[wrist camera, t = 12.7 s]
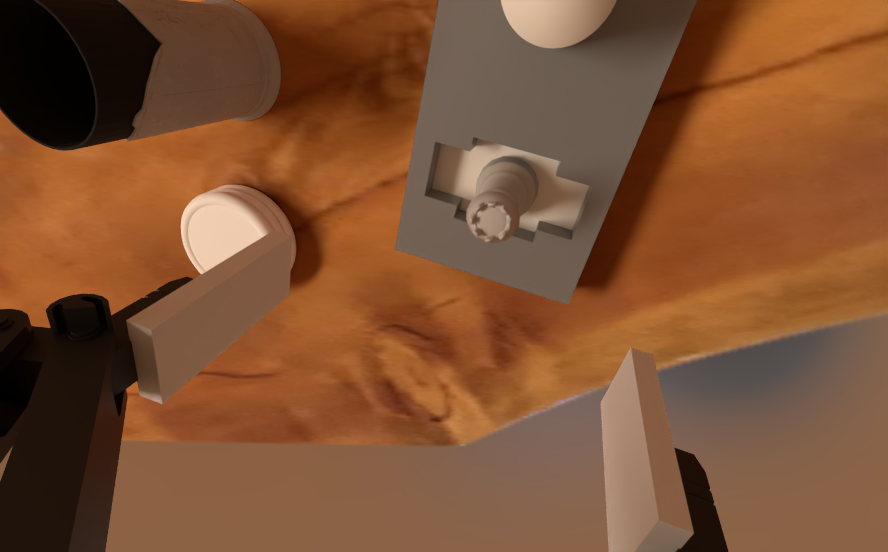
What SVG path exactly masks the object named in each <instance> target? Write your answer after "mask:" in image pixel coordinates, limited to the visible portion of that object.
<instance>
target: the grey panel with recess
mask: <svg viewBox="0 0 888 552" xmlns="http://www.w3.org/2000/svg"><path fill="white" fill-rule="evenodd" d="M696 2H697V0H439V1H438V7H437V12H436V18H435V24H434V29H433V35H432V41H431V46H430V52H429V58H428V64H427V69H426V75H425V81H424V86H423V92H422V98H421V103H420V109H419V115H418V120H417V126H416V132H415V138H414V143H413V149H412V155H411V160H410V166H409V172H408V177H407V183H406V189H405V195H404V200H403V206H402V212H401V217H400V223H399V229H398V234H397V240H396V246H395V250H398V251H401V252H405V253H408V254H411V255H414V256H417V257H420V258H423V259H427V260H430V261H433V262H436V263H439V264H442V265H445V266H448V267H452V268H455V269H458V270H461V271H464V272H467V273H470V274H473V275H477V276H480V277H483V278H486V279H489V280H492V281H495V282H498V283H502V284H505V285H508V286H511V287H514V288H517V289H520V290H523V291H527V292H530V293H533V294H536V295H539V296H542V297H545V298H549V299H552V300H555V301H558V302H561V303H564V304H567V305H568V304H569V301H570V299H571V297H572V294H573V292H574V290H575V287H576V285H577V282H578V280H579V278H580V275H581V273H582V271H583V268H584V266H585V264H586V261H587V259H588V257H589V254H590V252H591V249H592V247H593V245H594V242H595V240H596V238H597V235H598V233H599V231H600V228H601V226H602V224H603V221H604V219H605V216H606V214H607V212H608V209H609V207H610V205H611V202H612V200H613V198H614V195H615V193H616V191H617V188H618V186H619V183H620V181H621V179H622V176H623V174H624V172H625V169H626V167H627V165H628V162H629V160H630V158H631V155H632V153H633V150H634V148H635V146H636V143H637V141H638V139H639V136H640V134H641V132H642V129H643V127H644V125H645V122H646V120H647V117H648V115H649V113H650V110H651V108H652V106H653V103H654V101H655V99H656V96H657V94H658V92H659V89H660V87H661V84H662V82H663V80H664V77H665V75H666V73H667V70H668V68H669V66H670V63H671V61H672V59H673V56H674V54H675V52H676V49H677V47H678V44H679V42H680V40H681V37H682V35H683V33H684V30H685V28H686V26H687V23H688V21H689V19H690V16H691V14H692V11H693V9H694V7H695V4H696ZM502 156H509V157H517V158H519V159H521V160H523V161H525V162H527V163H528V164H529V166H530V167H531V168H532V169H533V170H534V172H535V174H536V177H537V180H538V184H539V185H538V193H537V197H536V199H535V201H534V202H533V204H532V206H531V207H530V209H529V210H528V211H527V212H525V213H524V214H523V215H521V216H520V222H519V227H518V228H517V230H516V232H515V234H514V235H513V236H511V237H510V238H508V239H507V240H505V241H501V242H497V243H487V242H485V241H484V240H482V239H480V238H476V236H475V235H474V234H473V233H472V231H471V230H470V229H469V226H468V223H467V220H466V214H467V208H468V206H469V204H470V202H471V200H473V199H474V198H475V197H476V182H477V180H478V177H479V175H480V173H481V171H482V169H483V167H484V166H486V165H487V164H488V163H489V162H490V161H491V160H493V159H496V158H499V157H502Z"/></svg>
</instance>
